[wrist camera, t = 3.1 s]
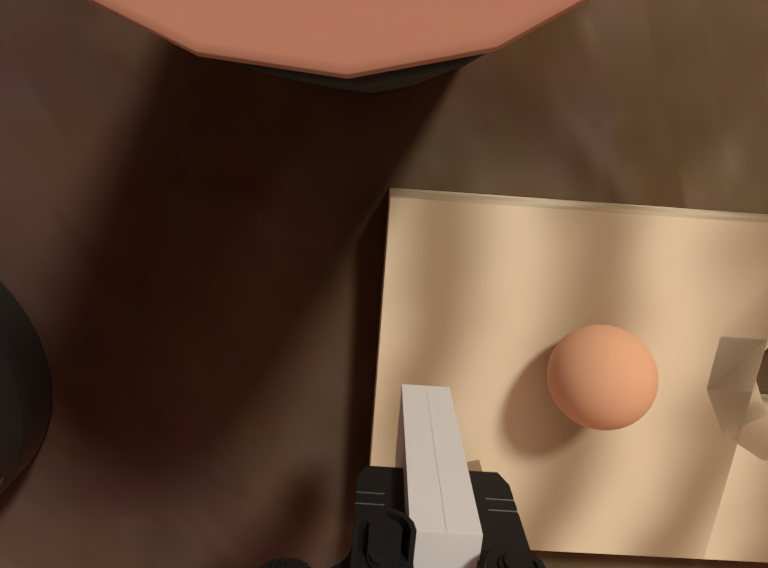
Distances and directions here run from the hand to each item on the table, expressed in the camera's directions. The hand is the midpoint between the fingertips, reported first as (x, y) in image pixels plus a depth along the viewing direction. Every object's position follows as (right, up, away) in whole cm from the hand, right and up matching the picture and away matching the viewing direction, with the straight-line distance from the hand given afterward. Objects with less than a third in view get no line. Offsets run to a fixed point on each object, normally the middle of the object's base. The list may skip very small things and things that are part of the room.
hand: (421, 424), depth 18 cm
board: (+11, 0, +9) cm, 14 cm away
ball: (+7, +1, +4) cm, 8 cm away
